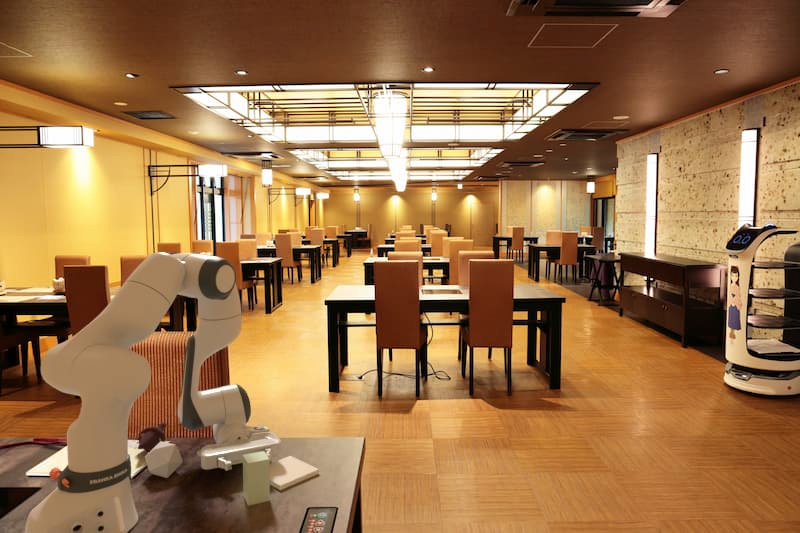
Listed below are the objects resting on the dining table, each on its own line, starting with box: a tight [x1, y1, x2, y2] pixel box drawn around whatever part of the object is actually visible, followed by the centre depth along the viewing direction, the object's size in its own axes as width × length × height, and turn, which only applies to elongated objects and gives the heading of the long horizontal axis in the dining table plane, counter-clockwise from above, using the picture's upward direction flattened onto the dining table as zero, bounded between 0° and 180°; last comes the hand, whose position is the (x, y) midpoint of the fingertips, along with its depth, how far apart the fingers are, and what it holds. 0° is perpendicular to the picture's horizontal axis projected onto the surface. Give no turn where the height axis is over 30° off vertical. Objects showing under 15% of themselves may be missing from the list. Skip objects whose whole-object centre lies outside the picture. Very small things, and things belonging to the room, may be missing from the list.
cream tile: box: [269, 455, 320, 491], centre depth 140 cm, size 12×12×1 cm
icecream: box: [137, 422, 167, 452], centre depth 153 cm, size 7×8×15 cm
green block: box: [242, 451, 271, 507], centre depth 127 cm, size 5×5×10 cm
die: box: [144, 441, 184, 479], centre depth 139 cm, size 8×9×10 cm
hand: (248, 463), depth 133 cm, fingers open, 8 cm apart
